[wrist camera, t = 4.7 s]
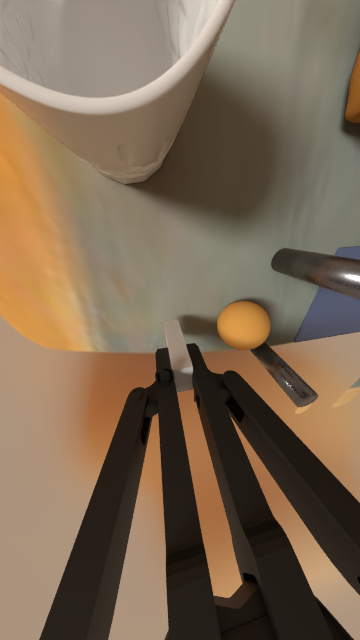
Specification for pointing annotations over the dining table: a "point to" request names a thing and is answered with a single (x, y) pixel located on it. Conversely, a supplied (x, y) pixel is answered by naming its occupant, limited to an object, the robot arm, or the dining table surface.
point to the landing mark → (332, 310)
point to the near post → (320, 270)
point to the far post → (285, 376)
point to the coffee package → (354, 94)
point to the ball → (243, 325)
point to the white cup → (109, 73)
